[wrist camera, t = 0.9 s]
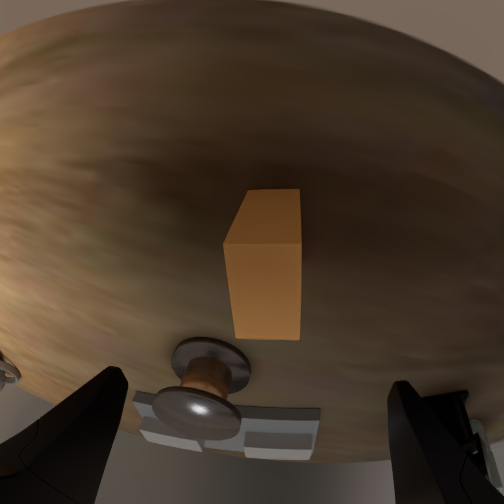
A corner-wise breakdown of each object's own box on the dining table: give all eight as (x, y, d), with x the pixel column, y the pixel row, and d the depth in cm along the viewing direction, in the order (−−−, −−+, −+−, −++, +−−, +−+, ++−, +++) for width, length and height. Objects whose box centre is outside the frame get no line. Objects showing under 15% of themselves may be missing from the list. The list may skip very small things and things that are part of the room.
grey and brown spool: (247, 339, 24) (234, 401, 19) (253, 390, 27) (244, 444, 22) (165, 333, 25) (140, 388, 20) (183, 383, 28) (166, 433, 23)
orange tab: (299, 188, 18) (301, 243, 11) (300, 263, 20) (299, 340, 14) (248, 190, 18) (222, 244, 12) (254, 263, 20) (235, 338, 14)
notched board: (319, 408, 28) (319, 437, 25) (312, 444, 32) (311, 468, 29) (136, 391, 30) (125, 415, 27) (159, 429, 35) (151, 450, 32)
